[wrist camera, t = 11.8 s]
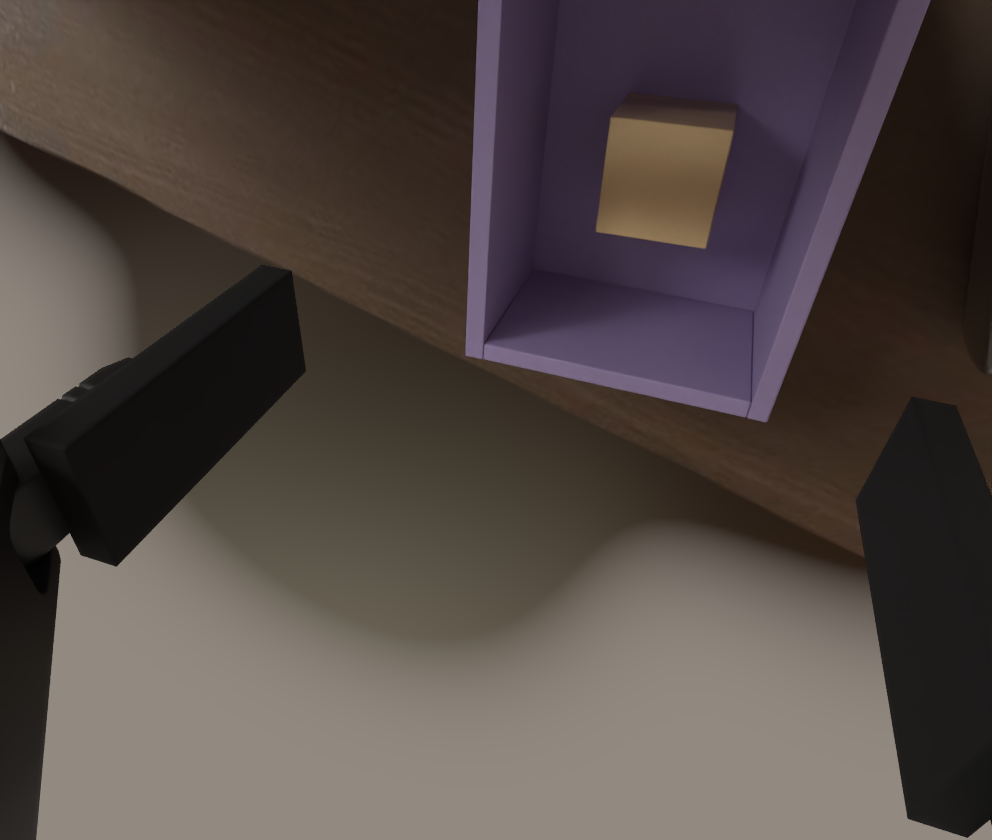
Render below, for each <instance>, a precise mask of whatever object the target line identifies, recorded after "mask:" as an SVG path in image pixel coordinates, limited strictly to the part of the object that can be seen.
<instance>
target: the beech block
mask: <svg viewBox="0 0 992 840" xmlns="http://www.w3.org/2000/svg"><path fill="white" fill-rule="evenodd" d="M737 109H738V105H737V104H731V103H722V102H712V101H703V100H694V99H684V98H675V97H666V96H656V95H647V94H638V93H629V94H628V95H627V96H626V98H625V99H624V100H623V102H622V103H621V104H620V105H619V107H618V108H617V109H616V111H615V112H614V113H613V115H612V116H611V118H610V124H609V132H608V139H607V147H606V154H605V162H604V169H603V177H602V184H601V192H600V200H599V207H598V215H597V222H596V232H598V233H605V234H611V235H618V236H624V237H631V238H637V239H644V240H650V241H657V242H663V243H670V244H676V245H683V246H689V247H696V248H702V249H706V248H707V244H708V240H709V236H710V232H711V228H712V223H713V219H714V215H715V211H716V207H717V203H718V198H719V194H720V190H721V186H722V182H723V178H724V173H725V169H726V165H727V161H728V157H729V153H730V148H731V144H732V140H733V136H734V131H735V124H736V116H737Z"/></svg>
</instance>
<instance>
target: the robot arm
mask: <svg viewBox="0 0 992 840" xmlns="http://www.w3.org/2000/svg"><path fill="white" fill-rule="evenodd" d="M305 372H306V368H305V361H304V354H303V347H302V340H301V333H300V326H299V319H298V313H297V306H296V298H295V291H294V285H293V277H292V271H290V270H285V269H280V268H275V267H270V266H265V265H261V266H260V267H258V268H257V269H255V270H254V271H253V272H251V273H250V274H249V275H247V276H246V277H244V278H243V279H242V280H240V281H239V282H238V283H236V284H235V285H233V286H232V287H231V288H229V289H228V290H227V291H225V292H224V293H222V294H221V295H220V296H218V297H217V298H215V299H214V300H213V301H211V302H210V303H209V304H207V305H206V306H205V307H203V308H202V309H200V310H199V311H198V312H196V313H195V314H194V315H192V316H191V317H189V318H188V319H187V320H185V321H184V322H182V323H181V324H180V325H178V326H177V327H176V328H174V329H173V330H172V331H170V332H169V333H167V334H166V335H165V336H163V337H162V338H160V339H159V340H158V341H156V342H155V343H154V344H152V345H151V346H149V347H148V348H147V349H145V350H144V351H143V352H141V353H140V354H138V355H137V356H136V357H134V358H133V359H132V358H126V359H123V360H121V361H118V362H116V363H113V364H111V365H108V366H106V367H103V368H101V369H100V370H98V371H97V372H95V373H94V374H92V375H91V376H90V377H88V378H87V379H85V380H84V381H82V382H81V383H80V385H79V387H74V388H73V389H71V390H70V391H68V392H67V393H65V394H64V395H63V396H62V399H61V400H60V399H57V400H56V401H54V402H53V403H51V404H50V405H48V406H47V407H46V408H44V409H43V410H41V411H40V412H39V413H37V414H36V415H34V416H33V417H32V418H30V419H29V420H27V421H26V422H24V423H23V424H22V425H20V426H19V427H17V428H16V429H15V430H13V431H12V432H10V433H9V434H7V435H6V436H5V437H3V438H2V439H0V840H36V834H37V823H38V811H39V800H40V789H41V777H42V766H43V754H44V743H45V732H46V720H47V710H48V698H49V687H50V686H49V685H50V676H51V665H52V653H53V642H54V631H55V619H56V608H57V596H58V585H59V574H60V563H61V560H60V555H59V551H58V549H57V547H56V545H57V544H58V543H59V542H60V541H61V540H62V539H63V538H64V537H65V536H66V535H68V534H69V533H70V534H71V536H72V538H73V540H74V542H75V544H76V546H77V548H78V550H79V552H80V554H81V555H82V556H85V557H88V558H91V559H94V560H98V561H101V562H104V563H107V564H110V565H113V566H118V565H119V563H120V562H121V561H122V560H123V559H124V558H125V557H126V556H127V555H128V554H129V553H130V552H131V551H132V550H133V549H134V548H135V547H136V546H137V545H138V544H139V543H140V542H141V541H142V540H143V539H144V538H145V537H146V536H147V535H148V534H149V533H150V532H151V531H152V529H153V528H154V527H155V526H156V525H157V524H158V523H159V522H160V521H161V520H162V519H163V518H164V517H165V516H166V515H167V514H168V513H169V512H170V511H171V510H172V509H173V508H174V507H175V506H176V505H177V504H178V503H179V502H180V501H181V500H182V499H183V497H184V496H185V495H186V494H187V493H188V492H189V491H190V490H191V489H192V488H193V487H194V486H195V485H196V484H197V483H198V482H199V481H200V480H201V479H202V478H203V477H204V476H205V475H206V474H207V473H208V472H209V471H210V469H212V468H213V467H214V466H215V464H216V463H217V462H218V461H219V460H220V459H221V458H222V457H223V456H224V455H225V454H226V453H227V452H228V451H229V450H230V449H231V448H232V447H233V446H234V445H235V444H236V443H237V442H238V441H239V440H240V439H241V438H242V437H243V436H244V434H245V433H246V432H247V431H248V430H249V429H250V428H251V427H252V426H253V425H254V424H255V423H256V422H257V421H258V420H259V419H260V418H261V417H262V416H263V415H264V414H265V413H266V412H267V411H268V410H269V409H270V408H271V407H272V406H273V405H274V403H275V402H277V400H278V399H279V398H280V397H281V396H282V395H283V394H284V393H285V392H286V391H287V390H288V389H289V388H290V387H291V386H292V385H293V384H294V383H295V382H296V381H297V380H298V379H299V378H300V377H301V376H302V375H303V374H304V373H305ZM856 505H857V511H858V517H859V524H860V530H861V536H862V542H863V548H864V554H865V560H866V566H867V572H868V579H869V584H870V591H871V597H872V603H873V609H874V615H875V622H876V628H877V634H878V640H879V646H880V652H881V658H882V664H883V670H884V677H885V683H886V689H887V695H888V701H889V707H890V713H891V719H892V726H893V732H894V738H895V744H896V750H897V756H898V762H899V768H900V775H901V780H902V787H903V793H904V799H905V805H906V811H907V817H908V819H910V820H913V821H917V822H920V823H923V824H926V825H929V826H933V827H935V828H938V829H942V830H945V831H948V832H951V833H954V834H957V835H960V836H964V837H967V838H968V837H969V836H970V835H972V834H973V833H974V832H975V831H977V830H978V829H979V828H980V827H981V826H983V825H984V824H985V823H986V822H988V821H989V820H991V824H992V495H991V493H990V490H989V488H988V485H987V483H986V480H985V478H984V475H983V473H982V470H981V468H980V465H979V462H978V460H977V457H976V455H975V452H974V450H973V447H972V445H971V442H970V440H969V437H968V435H967V432H966V430H965V427H964V424H963V422H962V419H961V417H960V414H959V412H958V409H957V407H956V406H955V405H950V404H945V403H940V402H935V401H930V400H925V399H920V398H915V397H912V398H911V400H910V401H909V403H908V405H907V407H906V409H905V411H904V412H903V414H902V416H901V418H900V420H899V422H898V423H897V425H896V427H895V429H894V431H893V433H892V434H891V436H890V438H889V440H888V442H887V444H886V445H885V447H884V449H883V451H882V453H881V455H880V456H879V458H878V460H877V462H876V464H875V466H874V468H873V469H872V471H871V473H870V475H869V477H868V479H867V480H866V482H865V484H864V486H863V488H862V490H861V491H860V493H859V495H858V497H857V499H856Z"/></svg>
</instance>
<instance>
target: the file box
mask: <svg viewBox="0 0 992 840" xmlns="http://www.w3.org/2000/svg"><path fill="white" fill-rule="evenodd" d="M930 1H931V0H478V26H477V53H476V81H475V108H474V136H473V163H472V191H471V218H470V245H469V273H468V300H467V328H466V356H470V357H474V358H479V359H483V358H484V359H485V360H490V361H494V362H499V363H503V364H508V365H512V366H517V367H521V368H526V369H530V370H534V371H539V372H543V373H548V374H552V375H557V376H561V377H566V378H570V379H575V380H579V381H584V382H588V383H593V384H597V385H602V386H606V387H611V388H615V389H620V390H624V391H629V392H633V393H638V394H642V395H646V396H651V397H655V398H660V399H664V400H669V401H673V402H678V403H682V404H687V405H691V406H696V407H700V408H705V409H709V410H714V411H718V412H723V413H727V414H732V415H736V416H741V417H746V416H747V418H749V419H753V420H757V421H762V422H767V421H768V419H769V416H770V414H771V411H772V408H773V406H774V403H775V401H776V398H777V395H778V393H779V390H780V388H781V385H782V383H783V380H784V377H785V375H786V372H787V370H788V367H789V365H790V362H791V359H792V357H793V354H794V352H795V349H796V346H797V344H798V341H799V339H800V336H801V334H802V331H803V328H804V326H805V323H806V321H807V318H808V316H809V313H810V310H811V308H812V305H813V303H814V300H815V297H816V295H817V292H818V290H819V287H820V285H821V282H822V279H823V277H824V274H825V272H826V269H827V266H828V264H829V261H830V259H831V256H832V254H833V251H834V248H835V246H836V243H837V241H838V238H839V236H840V233H841V230H842V228H843V225H844V223H845V220H846V217H847V215H848V212H849V210H850V207H851V205H852V202H853V199H854V197H855V194H856V192H857V189H858V187H859V184H860V181H861V179H862V176H863V174H864V171H865V168H866V166H867V163H868V161H869V158H870V156H871V153H872V150H873V148H874V145H875V143H876V140H877V138H878V135H879V132H880V130H881V127H882V125H883V122H884V119H885V117H886V114H887V112H888V109H889V107H890V104H891V101H892V99H893V96H894V94H895V91H896V88H897V86H898V83H899V81H900V78H901V76H902V73H903V70H904V68H905V65H906V63H907V60H908V58H909V55H910V52H911V50H912V47H913V45H914V42H915V39H916V37H917V34H918V32H919V29H920V27H921V24H922V21H923V19H924V16H925V14H926V11H927V9H928V6H929V3H930ZM629 93H638V94H647V95H656V96H666V97H675V98H684V99H694V100H703V101H712V102H722V103H731V104H737V105H738V109H737V116H736V124H735V131H734V136H733V140H732V144H731V148H730V153H729V157H728V161H727V165H726V169H725V173H724V178H723V182H722V186H721V190H720V194H719V198H718V203H717V207H716V211H715V215H714V219H713V223H712V228H711V232H710V236H709V240H708V244H707V248H706V249H702V248H696V247H689V246H683V245H676V244H670V243H663V242H657V241H650V240H644V239H637V238H631V237H624V236H618V235H611V234H605V233H598V232H596V222H597V215H598V207H599V200H600V192H601V184H602V177H603V169H604V162H605V154H606V147H607V139H608V132H609V124H610V118H611V116H612V115H613V113H614V112H615V111H616V109H617V108H618V107H619V105H620V104H621V103H622V102H623V100H624V99H625V98H626V96H627V95H628V94H629Z"/></svg>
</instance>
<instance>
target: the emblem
mask: <svg viewBox="0 0 992 840" xmlns="http://www.w3.org/2000/svg"><path fill="white" fill-rule="evenodd" d="M964 337H965V343H966V347H967V350H968V353H969V355H970V358H971V359H972V361H973V363H974V364H975V366H976V367H977V368H978V370H979V371H981V372H982V373H984V374H986V375H992V102H991V110H990V118H989V126H988V134H987V142H986V150H985V157H984V165H983V173H982V181H981V189H980V197H979V205H978V212H977V220H976V228H975V236H974V244H973V252H972V260H971V267H970V275H969V283H968V291H967V299H966V308H965V318H964Z"/></svg>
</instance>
